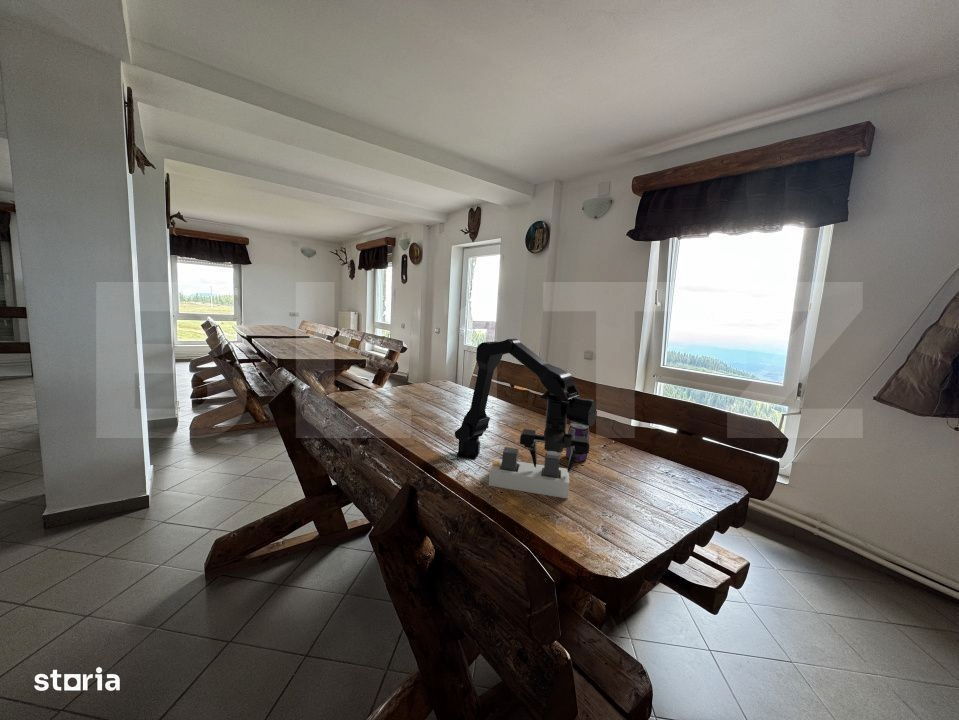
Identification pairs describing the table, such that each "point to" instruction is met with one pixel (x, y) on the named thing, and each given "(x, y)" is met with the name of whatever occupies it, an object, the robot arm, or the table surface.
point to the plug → (551, 464)
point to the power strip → (526, 476)
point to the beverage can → (578, 430)
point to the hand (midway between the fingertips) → (551, 469)
